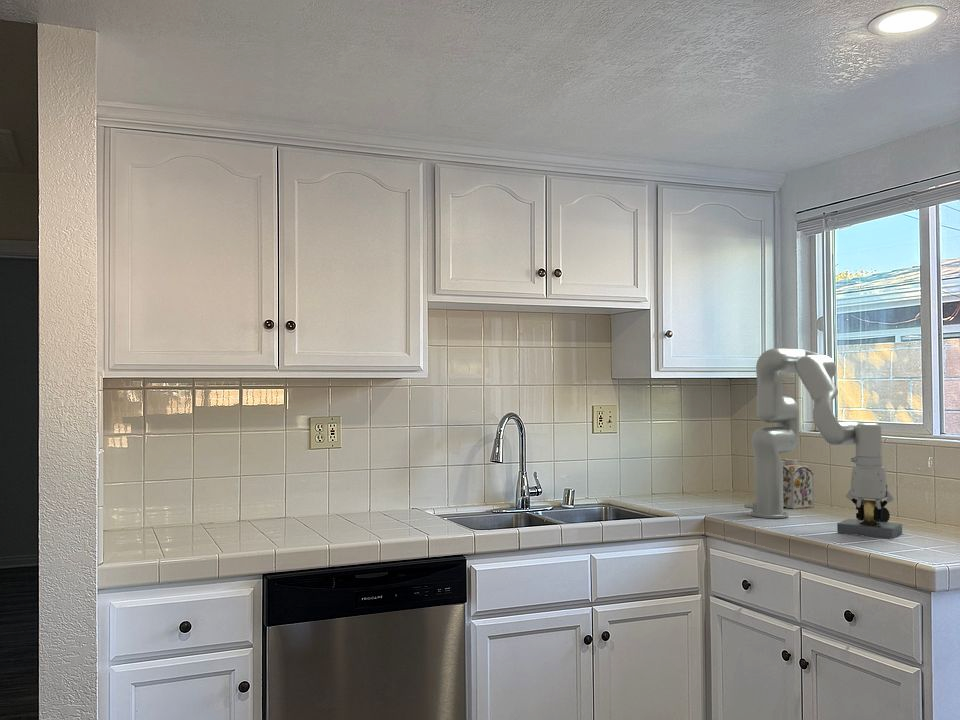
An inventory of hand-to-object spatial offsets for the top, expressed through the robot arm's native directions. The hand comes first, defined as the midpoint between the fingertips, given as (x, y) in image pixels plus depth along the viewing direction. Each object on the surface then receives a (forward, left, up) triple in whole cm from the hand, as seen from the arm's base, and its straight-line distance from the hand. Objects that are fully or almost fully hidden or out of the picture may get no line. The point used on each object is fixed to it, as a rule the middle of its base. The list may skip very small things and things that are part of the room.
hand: (870, 520), depth 264 cm
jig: (0, 0, -4) cm, 4 cm away
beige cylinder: (0, 0, -2) cm, 2 cm away
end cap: (-4, +19, -4) cm, 20 cm away
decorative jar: (-39, +43, -4) cm, 58 cm away
